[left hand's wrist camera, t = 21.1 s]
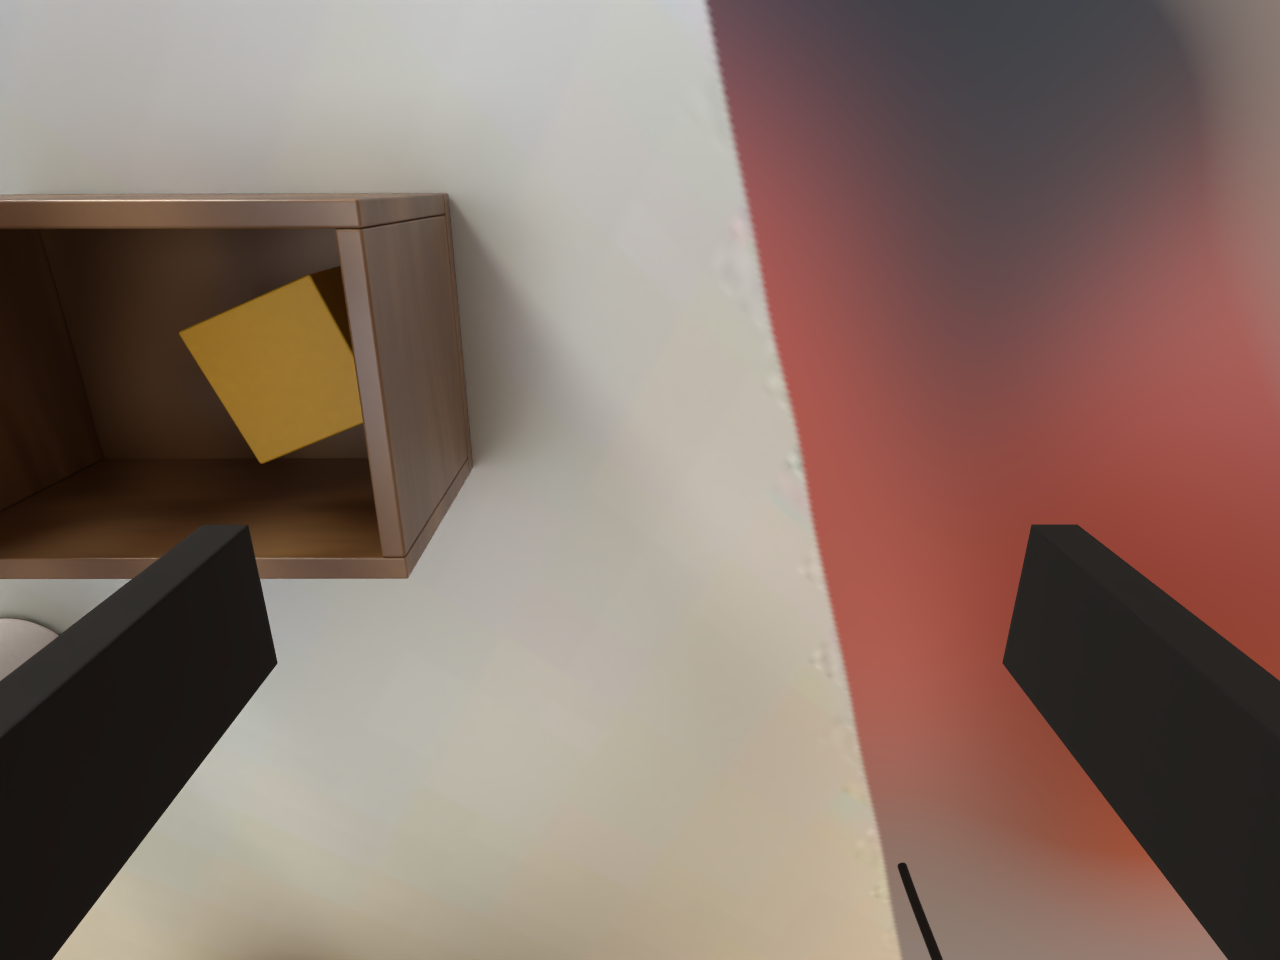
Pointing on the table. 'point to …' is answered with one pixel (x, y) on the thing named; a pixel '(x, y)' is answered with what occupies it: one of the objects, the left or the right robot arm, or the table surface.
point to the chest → (185, 400)
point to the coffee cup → (20, 643)
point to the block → (283, 364)
